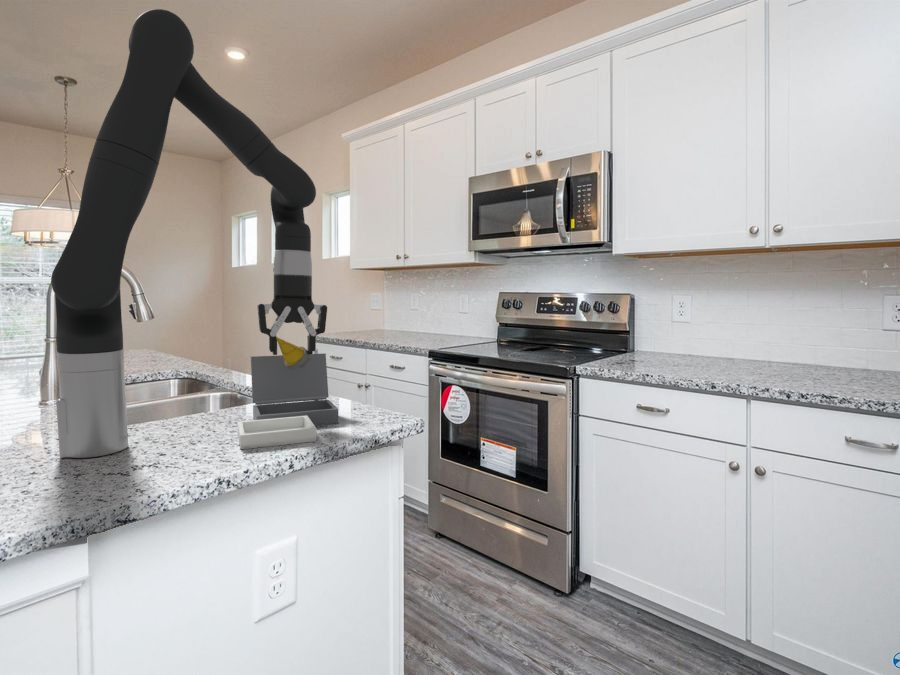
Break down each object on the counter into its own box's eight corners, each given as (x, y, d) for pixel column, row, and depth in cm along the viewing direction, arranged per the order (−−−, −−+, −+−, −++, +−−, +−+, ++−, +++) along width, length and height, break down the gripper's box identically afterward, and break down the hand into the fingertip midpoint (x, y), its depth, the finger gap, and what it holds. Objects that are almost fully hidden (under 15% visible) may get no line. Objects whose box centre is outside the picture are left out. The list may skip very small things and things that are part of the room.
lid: (250, 356, 112) (250, 357, 112) (253, 405, 110) (252, 405, 111) (326, 353, 118) (325, 353, 119) (328, 398, 117) (328, 399, 118)
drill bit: (315, 372, 109) (285, 341, 103) (293, 380, 110) (263, 351, 104) (317, 354, 113) (289, 323, 107) (296, 363, 114) (267, 333, 108)
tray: (240, 449, 90) (240, 435, 90) (237, 434, 99) (237, 421, 99) (316, 441, 96) (316, 427, 96) (307, 427, 105) (307, 415, 105)
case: (256, 431, 102) (256, 416, 102) (253, 419, 111) (252, 405, 111) (338, 423, 108) (338, 409, 108) (328, 412, 117) (328, 399, 117)
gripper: (257, 271, 100) (257, 357, 102) (331, 274, 106) (331, 355, 108) (254, 272, 107) (254, 352, 109) (324, 275, 113) (324, 351, 115)
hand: (292, 353), depth 108 cm, fingers closed on drill bit, 6 cm apart
